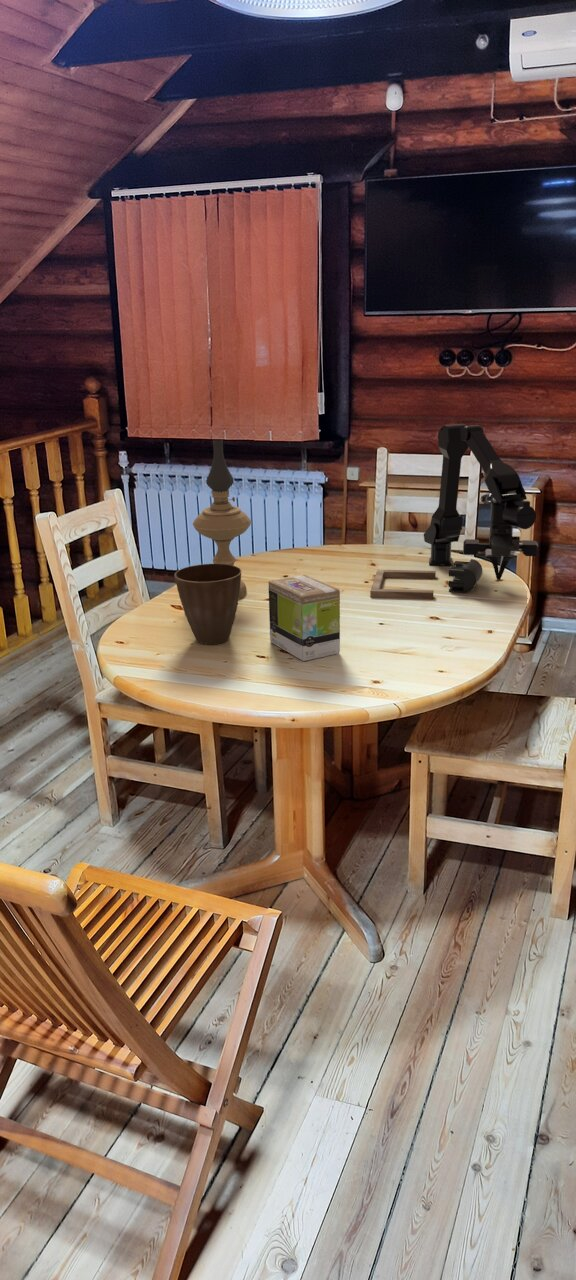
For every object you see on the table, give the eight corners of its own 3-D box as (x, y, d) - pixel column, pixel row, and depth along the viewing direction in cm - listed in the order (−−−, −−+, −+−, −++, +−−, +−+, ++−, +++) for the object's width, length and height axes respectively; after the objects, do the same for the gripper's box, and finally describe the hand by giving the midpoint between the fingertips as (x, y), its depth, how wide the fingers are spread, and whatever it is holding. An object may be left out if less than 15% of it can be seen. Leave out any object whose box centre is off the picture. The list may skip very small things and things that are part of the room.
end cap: (475, 595, 241) (476, 569, 239) (447, 592, 244) (448, 567, 242) (482, 584, 250) (483, 559, 248) (455, 582, 253) (456, 557, 250)
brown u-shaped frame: (377, 575, 260) (377, 569, 260) (435, 576, 258) (435, 570, 257) (370, 597, 242) (370, 591, 241) (433, 598, 239) (433, 592, 239)
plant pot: (172, 650, 210) (166, 581, 204) (187, 627, 223) (183, 562, 218) (237, 651, 208) (234, 582, 202) (249, 629, 221) (246, 563, 216)
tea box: (341, 653, 205) (341, 588, 200) (302, 663, 200) (300, 596, 195) (306, 634, 217) (305, 572, 212) (268, 642, 213) (266, 579, 208)
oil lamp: (264, 595, 245) (259, 440, 231) (214, 606, 238) (205, 447, 224) (236, 582, 257) (229, 434, 243) (187, 592, 250) (177, 440, 236)
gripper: (464, 527, 233) (461, 587, 239) (541, 529, 230) (537, 590, 236) (464, 517, 244) (462, 575, 249) (538, 518, 241) (534, 577, 246)
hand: (498, 579), depth 245 cm, fingers closed
